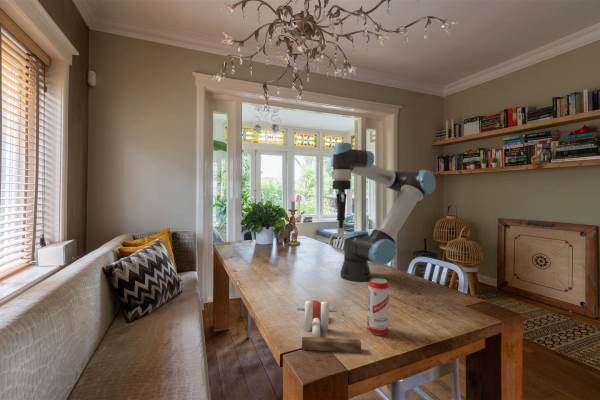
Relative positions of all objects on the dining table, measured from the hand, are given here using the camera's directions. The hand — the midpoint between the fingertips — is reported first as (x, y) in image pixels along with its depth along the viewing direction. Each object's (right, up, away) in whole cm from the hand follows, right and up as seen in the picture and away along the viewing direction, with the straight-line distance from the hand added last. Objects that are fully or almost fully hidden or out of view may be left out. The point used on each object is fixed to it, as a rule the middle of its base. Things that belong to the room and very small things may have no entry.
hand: (340, 235), depth 120 cm
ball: (-12, -22, -24) cm, 35 cm away
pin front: (-12, -24, -29) cm, 40 cm away
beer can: (+7, -26, -32) cm, 42 cm away
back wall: (-9, -26, -43) cm, 51 cm away
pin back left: (-15, -25, -32) cm, 43 cm away
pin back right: (-10, -26, -32) cm, 42 cm away
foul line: (-11, -25, -18) cm, 33 cm away
